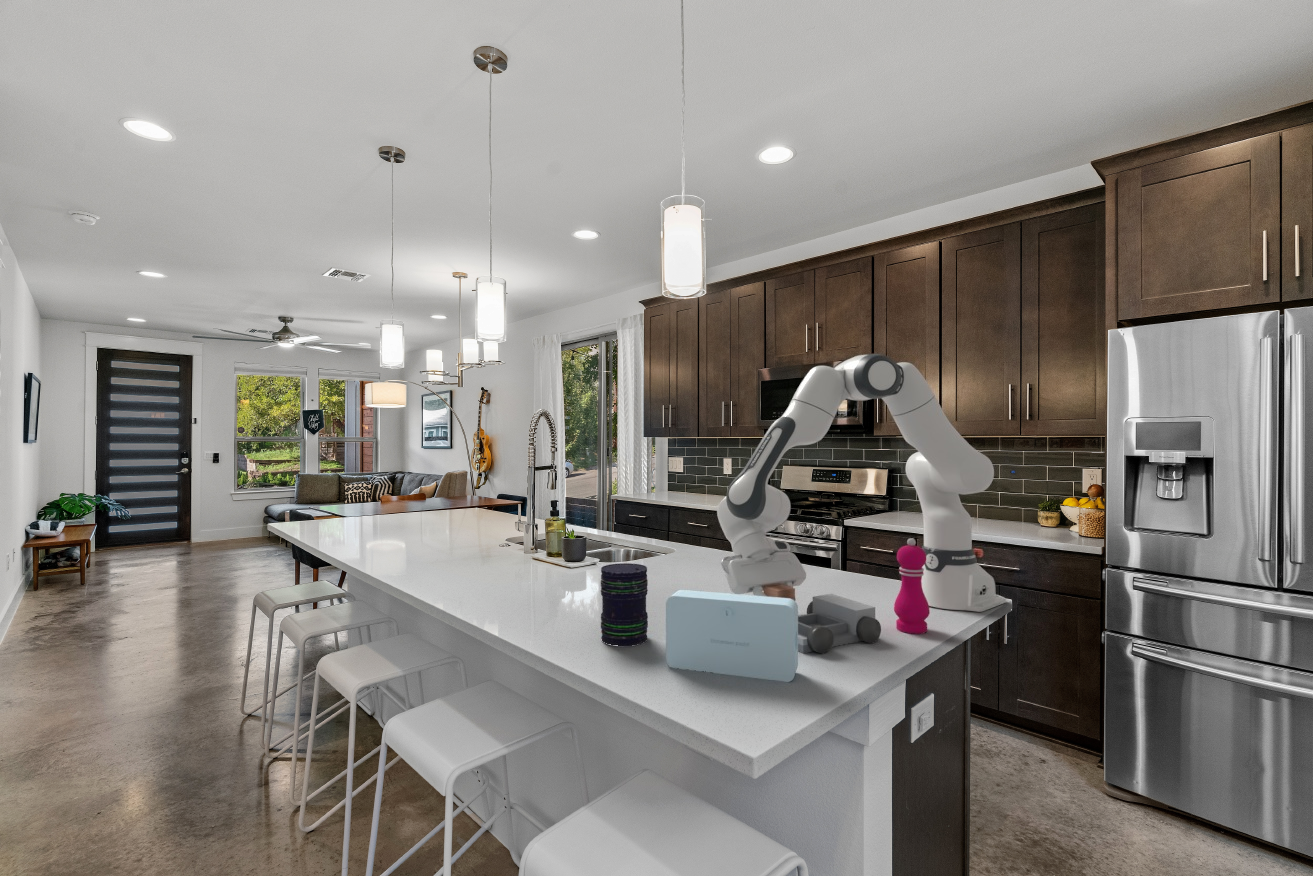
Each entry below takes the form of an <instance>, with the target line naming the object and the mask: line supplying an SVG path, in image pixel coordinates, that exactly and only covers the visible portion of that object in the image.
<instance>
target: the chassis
mask: <svg viewBox="0 0 1313 876" xmlns="http://www.w3.org/2000/svg"><path fill="white" fill-rule="evenodd" d="M806 608H807V609H806V614H801V615H798V653H801V654H807V653H810V651H812V652H816V653H818V654H822V655H823V653H824V654H826V653H828V652H829V651H830V650H831V649H832V648H834V647H833V646H836V647H839V646H838V645H840V646H844V645H843V644H845V645H849V644H848V643H850V644H854V643H853V642H855V643H858V641H860V642H865V643H868V644H873V643H872V642H874V643H876V642H877V641H878V640H879V638H880V636H881V633H882V625H881V623H880V621H879V620H878V619H877V618H876V607H875V606H873V605H869V604H866V603H863V602H859V601H855V600H852V599H850V598H846V597H843V596H839V595H836V594H835V593H834V594H833V593H828V594H821V595H813V596H812V600H811V601H810V603H809V604H808V605H807V607H806Z"/></svg>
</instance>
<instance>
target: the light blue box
mask: <svg viewBox="0 0 1313 876" xmlns="http://www.w3.org/2000/svg"><path fill="white" fill-rule="evenodd" d="M798 616H799V606H798V603H797V602H796V600H795V601H794V600H793V599H790V598H779V597H767V596H754V594H752V595H751V594H735V593H729V592H726V593H725V592H717V591H716V592H714V591H704V590H703V591H701V590H700V591H699V590H691V589H690V590H689V589H687V590H686V589H679V590H677V591H676V592H675V593H673V594H671V595H670V596H669V597H668V598H667V599H666V601H665V660H666V664H667V665H668V667H670V668H671V669H677V668H679V669H678V670H686V669H689V670H688V671H694V670H696V671H697V672H702V671H704V673H710V672H713V674H720V675H727V676H737V677H745V678H753V679H760V680H770V681H777V682H787V683H789V682H792V681H793V680H794V678H795V676H796V673H797V669H798V666H799V651H798ZM696 671H695V672H696ZM705 671H706V672H705Z"/></svg>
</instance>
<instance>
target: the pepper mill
mask: <svg viewBox="0 0 1313 876" xmlns="http://www.w3.org/2000/svg"><path fill="white" fill-rule="evenodd" d="M906 544H907V545H906ZM906 544H905V545H903V546H901V547H899V549H898V551H897V553H896V560H897V562H898V563H899V565H900V567H899V568H898V569H899V574H900V575H901V586H900V590H899V592H898V594H897V596H896V598H895V601H894V605H893V611H894V614H895V615H896V616H897V617H898V619H896V629H897V631H899V630H900V632H902V631H903V632H902V633H905V632H907V633H906V634H911V633H915V634H914V635H921V634H920V633H922V634H925V632H926V633H927V632H928V622H927V621H926V619H927V618H929V615H930V606H929V605H928V602H927V600H926V597H925V595H924V593H923V589H922V582H921V580H922V576H923V575H924V573H923V571H924V569H923V568H922V567H923V565H924V564H925V563H926V554H925V552H924V550H923V549H922V547H920V546H917V545H916V544H917V542H916V539H914V538H911V537H910V538H908V539H907V541H906Z"/></svg>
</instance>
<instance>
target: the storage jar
mask: <svg viewBox="0 0 1313 876" xmlns="http://www.w3.org/2000/svg"><path fill="white" fill-rule="evenodd" d="M600 572H601V575H600V595H601V597H602V599H601V602H602V605H601V606H602V608H601V610H602V611H601V613H600V620H601V621H600V629H601V632H600V633H601V637H600V640H601V639H602V641H603V642H605V643H607V644H611V645H618V646H630V647H633V646H632V645H637V644H640V645H642V644H641V643H643V642H645V641H646V640H647V641H648V635H647V633H648V627H649V623H648V622H649V621H648V619H649V615H648V612H647V595H648V591H649V590H648V585H649V584H648V583H649V582H648V581H649V580H648V573H647V572H648V567H647V566H646V565H643V564H639V563H631V562H630V563H629V562H628V563H627V562H625V563H624V562H623V563H621V562H619V563H611V564H606V565H604V566H602V567H601V568H600ZM602 641H601V642H602ZM647 641H646V642H647ZM603 642H602V643H603ZM646 642H645V643H646ZM607 644H606V645H607ZM643 644H644V643H643ZM637 646H638V645H637Z"/></svg>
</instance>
